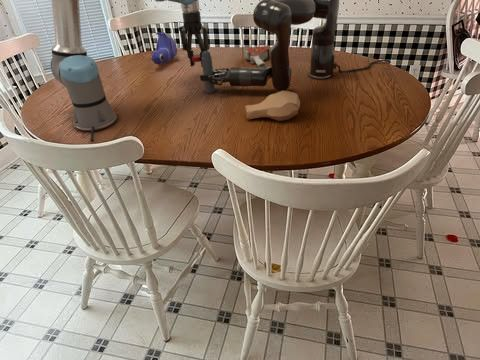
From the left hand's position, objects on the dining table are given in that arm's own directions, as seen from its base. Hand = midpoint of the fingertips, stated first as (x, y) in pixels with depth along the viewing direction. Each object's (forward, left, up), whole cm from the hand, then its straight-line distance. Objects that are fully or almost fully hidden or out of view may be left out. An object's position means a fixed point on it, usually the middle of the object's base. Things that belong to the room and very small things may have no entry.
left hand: (198, 65), depth 164 cm
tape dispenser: (+17, -28, -5) cm, 33 cm away
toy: (+21, +20, -5) cm, 30 cm away
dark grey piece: (-18, -7, -5) cm, 20 cm away
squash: (-46, -32, -5) cm, 56 cm away
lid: (0, 0, +4) cm, 4 cm away
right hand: (-18, -4, +1) cm, 18 cm away
